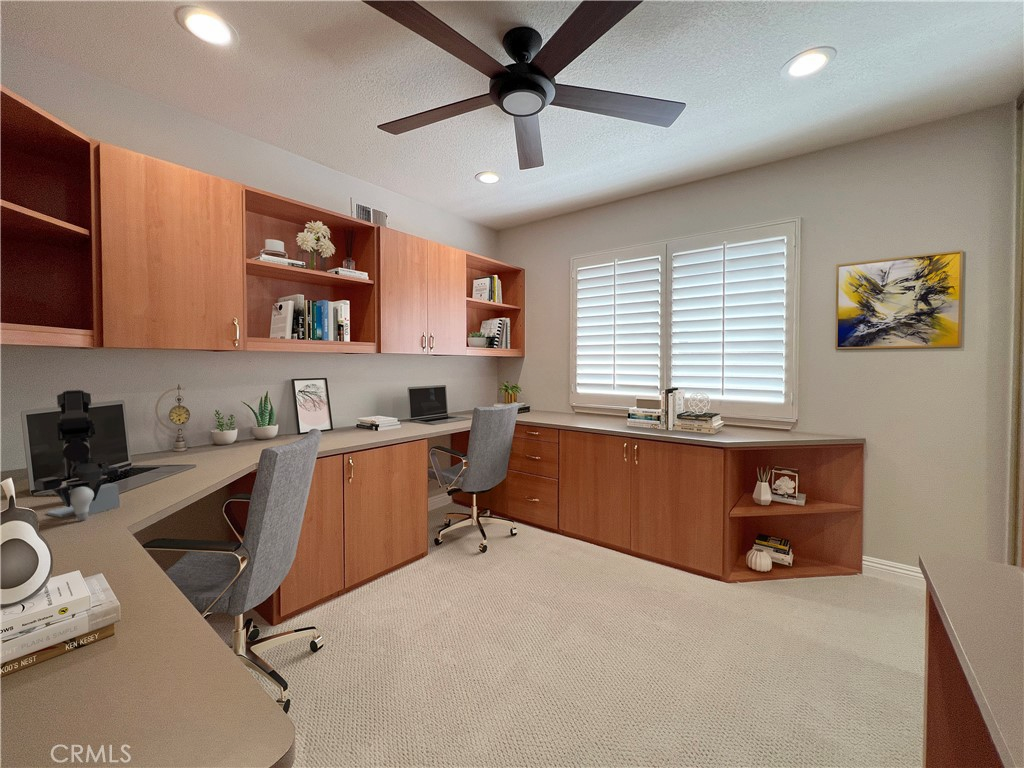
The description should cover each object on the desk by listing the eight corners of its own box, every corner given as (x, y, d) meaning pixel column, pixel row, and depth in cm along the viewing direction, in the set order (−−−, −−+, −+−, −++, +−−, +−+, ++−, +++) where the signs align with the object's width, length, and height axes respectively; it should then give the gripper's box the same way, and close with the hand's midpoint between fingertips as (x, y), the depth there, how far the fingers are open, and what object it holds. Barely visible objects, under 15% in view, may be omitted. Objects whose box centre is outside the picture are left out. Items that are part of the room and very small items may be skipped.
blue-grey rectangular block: (73, 515, 142) (71, 491, 142) (110, 505, 152) (108, 483, 151) (83, 516, 141) (81, 493, 140) (119, 506, 150) (118, 484, 149)
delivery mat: (46, 514, 144) (46, 511, 144) (80, 505, 152) (80, 503, 152) (61, 517, 140) (61, 514, 140) (96, 508, 149) (95, 505, 149)
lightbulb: (78, 524, 134) (75, 490, 133) (63, 523, 135) (60, 489, 134) (100, 517, 140) (98, 484, 139) (86, 516, 141) (83, 483, 140)
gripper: (52, 464, 125) (56, 516, 125) (128, 451, 142) (131, 497, 143) (31, 461, 128) (35, 512, 129) (107, 449, 146) (110, 493, 147)
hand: (81, 503), depth 137 cm, fingers closed on lightbulb, 6 cm apart
